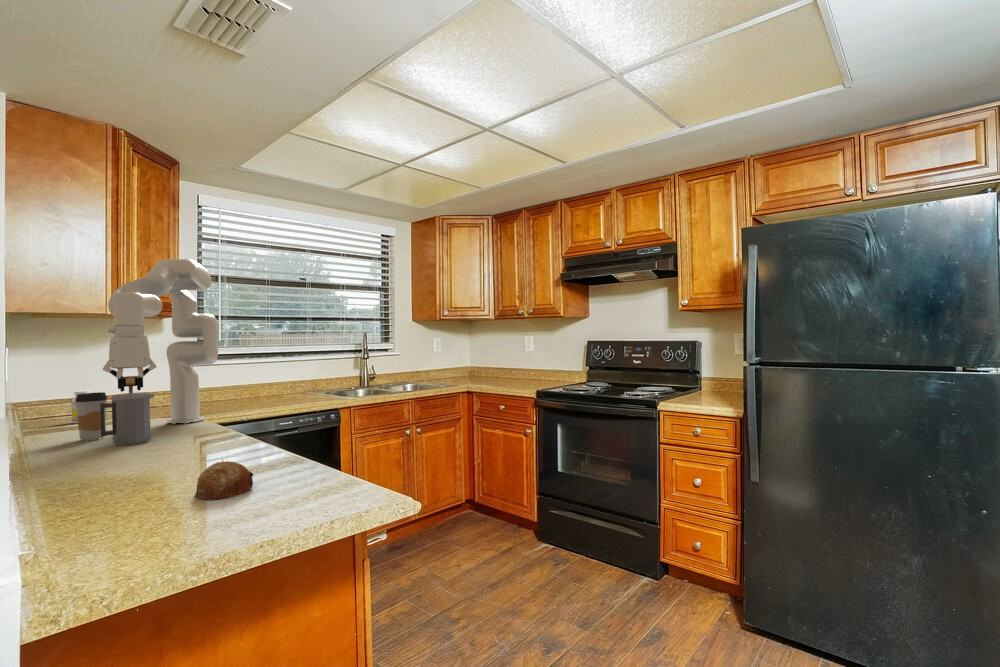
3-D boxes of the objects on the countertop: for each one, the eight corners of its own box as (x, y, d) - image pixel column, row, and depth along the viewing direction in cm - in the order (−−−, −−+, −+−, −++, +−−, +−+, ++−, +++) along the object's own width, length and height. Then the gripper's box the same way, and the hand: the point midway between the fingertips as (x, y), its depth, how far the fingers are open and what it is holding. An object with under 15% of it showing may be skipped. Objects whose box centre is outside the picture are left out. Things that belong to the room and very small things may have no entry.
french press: (103, 443, 158) (102, 394, 158) (155, 438, 165) (154, 391, 165) (99, 448, 150) (98, 397, 150) (154, 442, 157) (152, 393, 157)
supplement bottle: (89, 420, 212) (88, 389, 212) (96, 421, 209) (95, 390, 209) (69, 423, 206) (68, 391, 207) (76, 424, 203) (75, 392, 203)
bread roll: (200, 509, 102) (179, 477, 100) (248, 477, 109) (230, 446, 106) (215, 520, 95) (193, 486, 93) (265, 486, 102) (246, 453, 99)
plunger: (121, 437, 159) (119, 376, 159) (144, 434, 162) (142, 375, 162) (118, 440, 154) (117, 377, 154) (143, 437, 157) (141, 376, 157)
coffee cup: (104, 435, 173) (103, 391, 173) (111, 438, 167) (110, 392, 168) (73, 440, 166) (72, 394, 166) (79, 442, 161) (78, 395, 161)
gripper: (93, 332, 151) (95, 393, 150) (160, 330, 159) (162, 389, 159) (97, 332, 157) (99, 392, 157) (161, 331, 166) (163, 387, 166)
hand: (130, 390), depth 158 cm, fingers closed on plunger, 3 cm apart
